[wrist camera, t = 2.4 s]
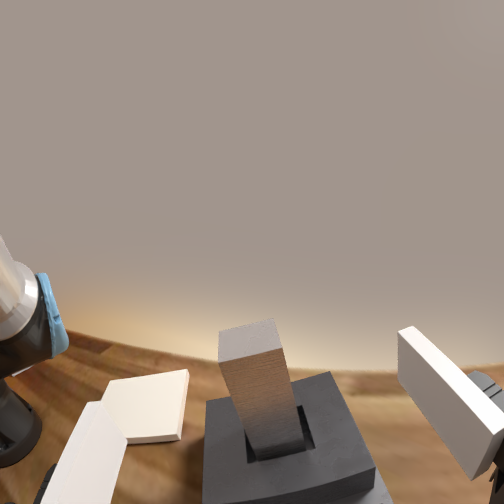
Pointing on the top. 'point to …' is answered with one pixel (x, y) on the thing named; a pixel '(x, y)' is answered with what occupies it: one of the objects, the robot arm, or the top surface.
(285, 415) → the aluminium plug
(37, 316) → the robot arm
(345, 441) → the socket block
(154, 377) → the cream pad
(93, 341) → the top surface
